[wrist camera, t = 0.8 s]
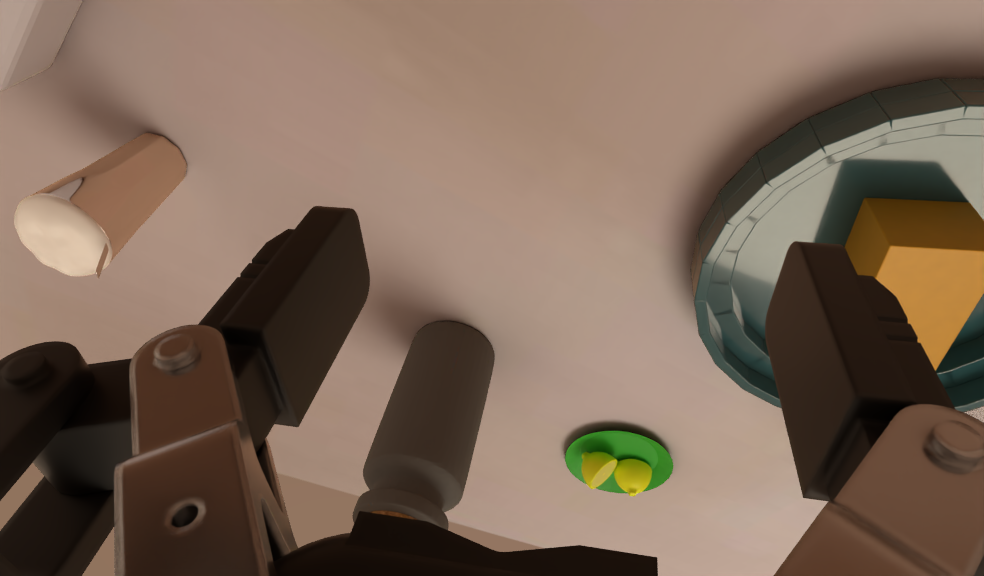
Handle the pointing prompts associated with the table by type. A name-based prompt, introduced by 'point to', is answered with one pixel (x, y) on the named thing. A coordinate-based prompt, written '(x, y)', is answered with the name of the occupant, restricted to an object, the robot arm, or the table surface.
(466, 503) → the table surface
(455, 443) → the bottle
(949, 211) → the block
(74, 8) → the charger
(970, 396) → the teal plate
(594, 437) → the lemons on green plate
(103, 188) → the milkshake
